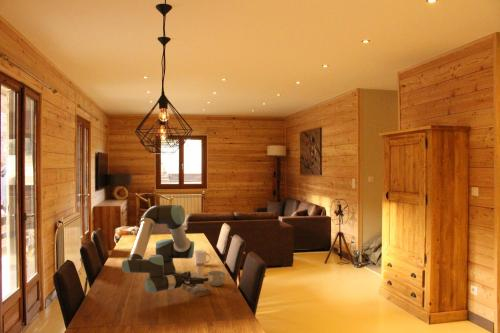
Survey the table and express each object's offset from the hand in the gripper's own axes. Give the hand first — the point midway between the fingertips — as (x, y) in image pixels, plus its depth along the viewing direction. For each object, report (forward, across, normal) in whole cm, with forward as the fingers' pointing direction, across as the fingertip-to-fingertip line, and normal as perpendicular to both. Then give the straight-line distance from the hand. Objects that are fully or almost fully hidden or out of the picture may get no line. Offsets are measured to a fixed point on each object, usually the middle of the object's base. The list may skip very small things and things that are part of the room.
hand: (206, 275), depth 246 cm
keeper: (-3, -1, -9) cm, 9 cm away
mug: (+33, -62, -10) cm, 70 cm away
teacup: (+13, -9, -10) cm, 19 cm away
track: (-3, -6, -10) cm, 12 cm away
